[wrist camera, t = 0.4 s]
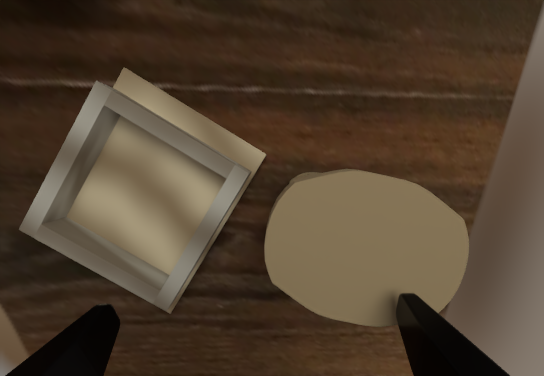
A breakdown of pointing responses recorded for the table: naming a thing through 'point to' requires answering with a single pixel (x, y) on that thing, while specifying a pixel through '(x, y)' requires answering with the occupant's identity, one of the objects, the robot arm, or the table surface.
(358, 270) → the handle
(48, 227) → the board
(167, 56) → the table surface
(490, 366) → the robot arm
